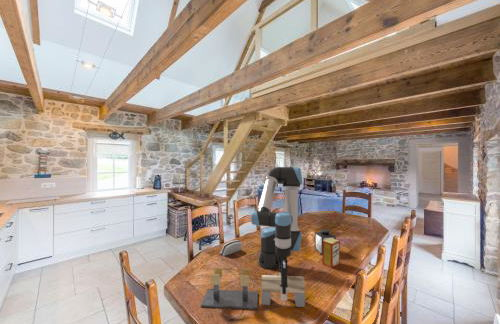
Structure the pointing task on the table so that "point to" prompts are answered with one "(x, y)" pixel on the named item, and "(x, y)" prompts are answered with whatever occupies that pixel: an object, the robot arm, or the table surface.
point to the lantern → (322, 238)
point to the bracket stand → (230, 293)
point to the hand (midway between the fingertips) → (282, 292)
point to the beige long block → (274, 282)
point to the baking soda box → (331, 252)
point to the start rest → (298, 299)
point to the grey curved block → (231, 247)
